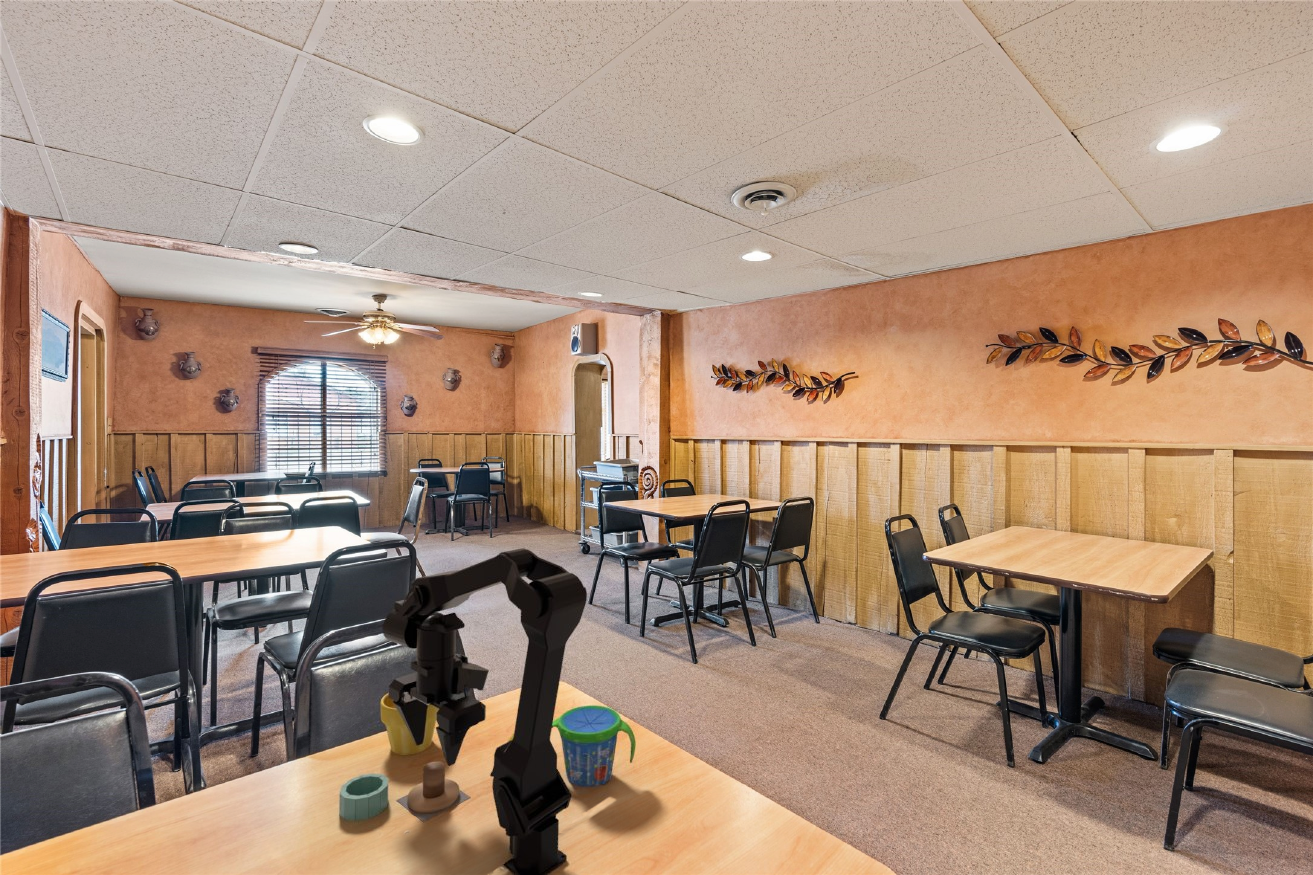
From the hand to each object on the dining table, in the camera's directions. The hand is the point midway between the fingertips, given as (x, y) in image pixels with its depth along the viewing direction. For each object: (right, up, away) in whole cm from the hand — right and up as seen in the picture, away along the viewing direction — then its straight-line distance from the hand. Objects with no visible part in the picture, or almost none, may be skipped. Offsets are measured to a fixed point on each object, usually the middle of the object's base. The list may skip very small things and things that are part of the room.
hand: (434, 754), depth 95 cm
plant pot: (-10, -8, +16) cm, 21 cm away
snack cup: (+23, -8, +8) cm, 26 cm away
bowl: (-10, -8, -2) cm, 13 cm away
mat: (0, -8, 0) cm, 8 cm away
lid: (0, -7, 0) cm, 7 cm away
